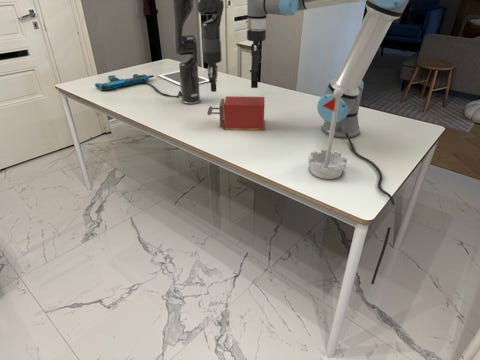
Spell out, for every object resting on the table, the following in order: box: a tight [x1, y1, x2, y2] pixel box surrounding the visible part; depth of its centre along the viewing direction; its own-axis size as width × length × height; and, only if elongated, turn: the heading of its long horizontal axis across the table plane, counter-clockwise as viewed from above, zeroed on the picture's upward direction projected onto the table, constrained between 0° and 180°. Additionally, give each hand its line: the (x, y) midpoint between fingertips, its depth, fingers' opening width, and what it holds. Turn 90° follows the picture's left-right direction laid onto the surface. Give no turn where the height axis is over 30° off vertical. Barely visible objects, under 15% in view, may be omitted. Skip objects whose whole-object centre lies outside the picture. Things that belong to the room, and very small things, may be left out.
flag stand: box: [307, 88, 348, 180], centre depth 113 cm, size 13×13×30 cm
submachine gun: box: [94, 73, 155, 91], centre depth 208 cm, size 34×4×25 cm
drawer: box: [207, 98, 225, 128], centre depth 153 cm, size 22×10×10 cm, turn 87°
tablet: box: [157, 70, 210, 87], centre depth 215 cm, size 32×20×1 cm, turn 41°
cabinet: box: [224, 96, 265, 131], centre depth 152 cm, size 17×11×11 cm, turn 87°
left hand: (213, 91), depth 148 cm, fingers closed
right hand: (255, 82), depth 146 cm, fingers open, 13 cm apart
